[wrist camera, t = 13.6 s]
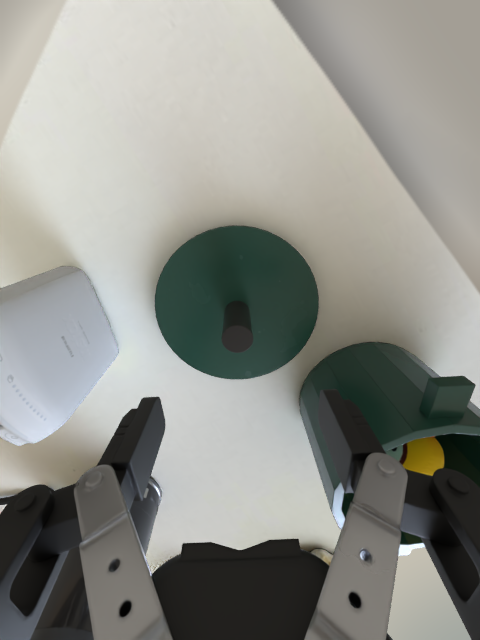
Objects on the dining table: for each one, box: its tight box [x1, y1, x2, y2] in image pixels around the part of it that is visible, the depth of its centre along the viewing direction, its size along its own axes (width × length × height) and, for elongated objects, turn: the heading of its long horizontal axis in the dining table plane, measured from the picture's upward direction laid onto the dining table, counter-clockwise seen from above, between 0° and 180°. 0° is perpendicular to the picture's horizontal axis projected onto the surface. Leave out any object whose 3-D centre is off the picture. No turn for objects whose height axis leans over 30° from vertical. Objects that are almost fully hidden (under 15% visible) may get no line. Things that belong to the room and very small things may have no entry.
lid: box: [155, 226, 319, 379], centre depth 23 cm, size 16×16×7 cm
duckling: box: [386, 436, 444, 476], centre depth 25 cm, size 11×5×10 cm, turn 156°
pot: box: [299, 342, 480, 555], centre depth 25 cm, size 15×20×12 cm
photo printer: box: [0, 266, 119, 446], centre depth 20 cm, size 10×4×12 cm, turn 10°
